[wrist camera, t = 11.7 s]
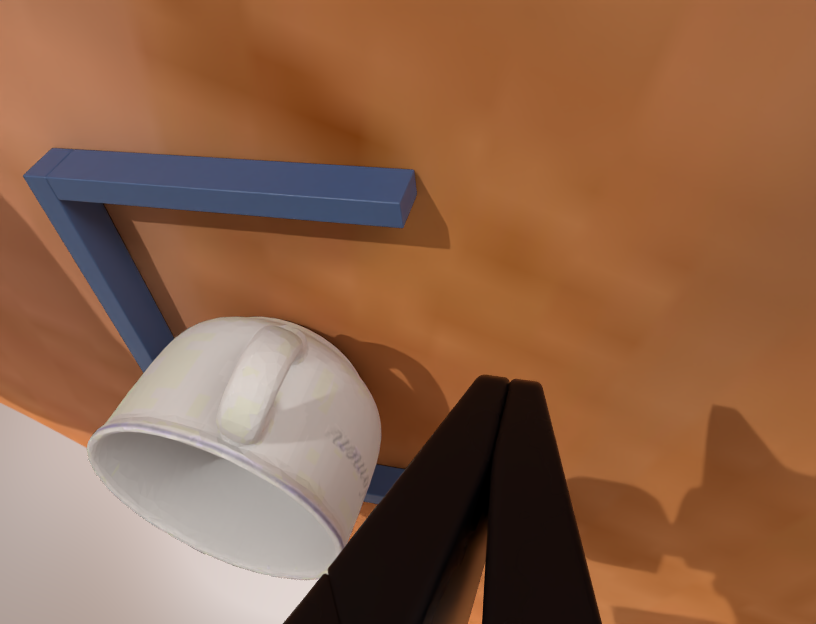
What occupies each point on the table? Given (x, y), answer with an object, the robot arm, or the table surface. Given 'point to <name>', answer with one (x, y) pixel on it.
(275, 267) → the table surface
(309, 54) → the table surface
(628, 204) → the table surface
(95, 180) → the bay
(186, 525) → the teacup
